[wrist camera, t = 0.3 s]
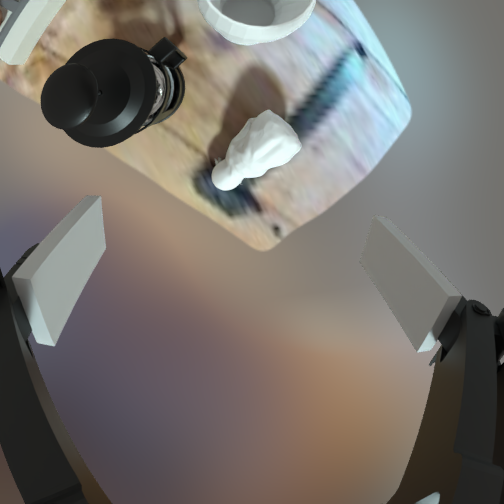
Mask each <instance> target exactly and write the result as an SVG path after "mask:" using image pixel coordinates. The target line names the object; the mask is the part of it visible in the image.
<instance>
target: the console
mask: <svg viewBox="0 0 504 504" xmlns="http://www.w3.org/2000/svg"><path fill="white" fill-rule="evenodd" d="M65 2H66V0H0V10H1V11H2V14H3V18H2V23H1V25H0V59H1V60H3V61H4V62H6V63H7V64H9V65H17V64H24V63H25V62H26V60H27V58H28V56H29V55H30V53H31V51H32V50H33V48H34V46H35V45H36V43H37V42H38V40H39V38H40V37H41V35H42V34H43V32H44V31H45V29H46V28H47V26H48V25H49V23H50V22H51V20H52V19H53V18H54V16H55V15H56V13H57V12H58V11H59V9H60V8H61V7H62V5H63V4H64V3H65Z"/></svg>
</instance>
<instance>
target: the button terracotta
mask: <svg viewBox="0 0 504 504" xmlns="http://www.w3.org/2000/svg"><path fill="white" fill-rule="evenodd" d="M2 18H3V14H2V11H1V10H0V25H1V23H2Z"/></svg>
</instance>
